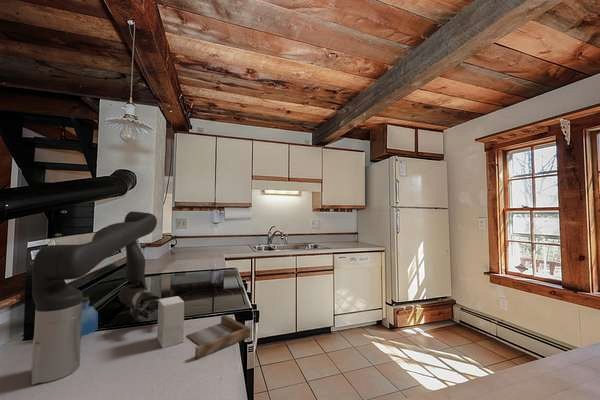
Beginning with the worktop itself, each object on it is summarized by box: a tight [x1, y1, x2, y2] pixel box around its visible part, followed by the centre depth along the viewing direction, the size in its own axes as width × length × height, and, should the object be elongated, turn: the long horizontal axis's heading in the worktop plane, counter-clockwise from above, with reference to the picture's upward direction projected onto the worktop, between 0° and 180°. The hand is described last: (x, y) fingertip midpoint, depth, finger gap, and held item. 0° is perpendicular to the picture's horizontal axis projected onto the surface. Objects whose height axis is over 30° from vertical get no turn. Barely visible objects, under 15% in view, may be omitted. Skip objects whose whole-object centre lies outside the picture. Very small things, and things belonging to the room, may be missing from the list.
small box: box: [156, 295, 185, 349], centre depth 85 cm, size 8×6×13 cm
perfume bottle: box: [81, 296, 99, 338], centre depth 90 cm, size 6×6×12 cm
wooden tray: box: [186, 314, 252, 360], centre depth 86 cm, size 18×16×3 cm
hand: (161, 312), depth 91 cm, fingers open, 8 cm apart
